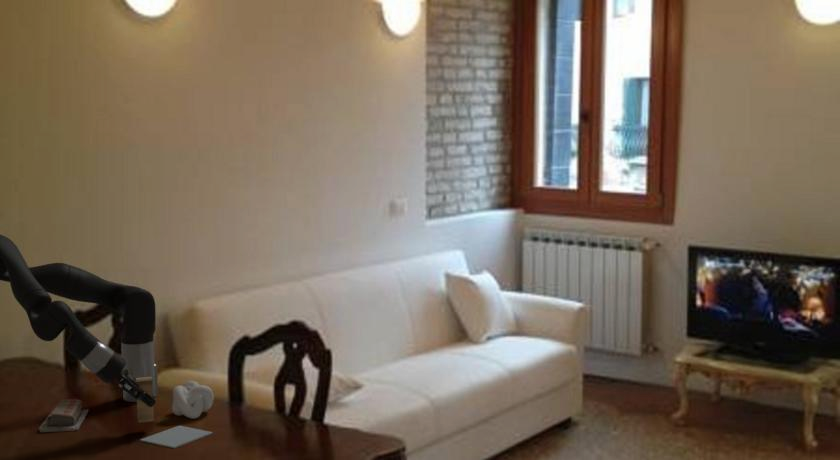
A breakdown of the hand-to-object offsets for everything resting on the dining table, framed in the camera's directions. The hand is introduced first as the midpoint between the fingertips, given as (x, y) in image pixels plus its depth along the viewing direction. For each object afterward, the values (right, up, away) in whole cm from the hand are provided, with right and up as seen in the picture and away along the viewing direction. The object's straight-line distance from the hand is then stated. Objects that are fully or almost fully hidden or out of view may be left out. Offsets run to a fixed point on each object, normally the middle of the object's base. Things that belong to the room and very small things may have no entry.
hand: (152, 402), depth 268 cm
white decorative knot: (+6, -6, +16) cm, 18 cm away
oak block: (-2, -5, 0) cm, 5 cm away
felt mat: (+8, -8, -5) cm, 12 cm away
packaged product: (-27, -8, +9) cm, 29 cm away
